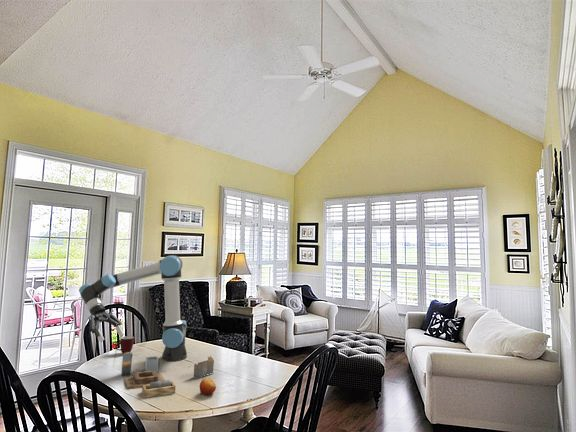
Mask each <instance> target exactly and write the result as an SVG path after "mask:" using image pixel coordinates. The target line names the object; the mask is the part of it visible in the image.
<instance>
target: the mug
mask: <svg viewBox="0 0 576 432" xmlns="http://www.w3.org/2000/svg"><path fill="white" fill-rule="evenodd" d="M134 343H135V336H131V335H127V336H126V335H125V336H122V337H120V340H119V342H117V343H116V344H115V350H116V351H121V353H122V355H123V354H124V353H126V352H130V353H132V352H131V351H132V349H133V345H134ZM119 345H120V348H118V346H119Z"/></svg>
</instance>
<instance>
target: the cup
mask: <svg viewBox="0 0 576 432" xmlns="http://www.w3.org/2000/svg"><path fill="white" fill-rule="evenodd" d="M144 362H145V364H144V371H152V370H155V371H156V373H158V370H159V358H158V356H156V355H155V356H146V357H145V361H144Z"/></svg>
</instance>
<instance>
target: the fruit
mask: <svg viewBox="0 0 576 432" xmlns="http://www.w3.org/2000/svg"><path fill="white" fill-rule="evenodd" d="M216 385H217V384H216V382H215V381H214V380H213V379H212V378H205V377H204V378H203V379H202V380H201V381H200V384H199V392H200V394H199V396H201V395H205V396H211V395H213V393H215V391H216V389H217V386H216Z"/></svg>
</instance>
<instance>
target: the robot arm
mask: <svg viewBox="0 0 576 432" xmlns="http://www.w3.org/2000/svg"><path fill="white" fill-rule="evenodd" d="M182 268H183V260H182V258H181V257H179V255H175V254H174V255H167V256H165V257H163V258H162V259H161V260H160V259H159V260H158V262H154V263H151V264H148V265H145V266H140V267H138V268H133V269H130V270H126V271H122V272H120V273H115V274H110V273H106V274H105V275H104V276H102V277H100V278H99V279H98V280H97V281H95V282H93V283H90V282H89V283H85V284H83V285H81V286H80V287H79V289H78V293H79V294H80V297H81V299H82V300H83V302H84V304H85V305H86V308H87V309H88V312H89V314H90V315H89V316H88V318H87V319H88V322H89V326H88V330H89V333H91V334H94V335H95V337H97V339H98V341H99V343H103V341H104V340H105V338H104V336H103V335H104V334H103V333H102V332H101V329H99V326H100V323H102V322H105V323H108V324H109V325H112V326H113V327H115V328H114V329H115V330H116V333H117V334H118V335H119V337H120V338H121V337H124V335H125V333H124V331H123V328H122V326H121V325H122V324H123V322H122V321H120V319H119V318H118V317H116V316H115V315H114V314H113V313H112V312H111V311H109V312H108V313H107V312H106V308H105V307H106V306H104V304H103V302H102V300H101V299H100V297H99V296H100V295H101V294H104V292H105V291H107V290H110V289H112V288H116V287H118V286H122V285H126V284H130V283H133V282H137V281H141V280H144V279H147V278H151V277H154V276H159V275H160V277H161V280H162V281H163V282H164V283H163V285H164V286H163V287H164V288H163V289H164V290H163V291H164V313H165V315H164V316H165V321H164V323H162V332H163V333H162V336H161V341H162V344H163V345H164V349H163V351H162V355H161V358H162V360H165V361H171V362H174V361H175V362H177V361H181V360H185V359H186V358H187V357H188V352H187V348H186V334H187V332H186V331H187V326H188V325H187V321H186V320H183V319H181V305H180V303H181V302H180V299H181V298H180V279H181V278H182Z"/></svg>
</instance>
